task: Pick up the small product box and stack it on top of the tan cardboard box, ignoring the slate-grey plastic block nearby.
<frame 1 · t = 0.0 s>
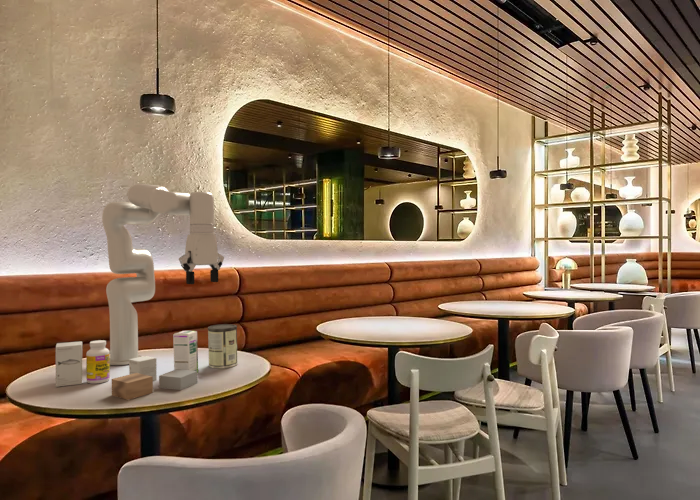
hand: (202, 283, 159), 31 cm above the table, tool pointing down, fingers open, 9 cm apart
syrup box: (186, 375, 164), on the table
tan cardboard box: (132, 394, 143), on the table
coffee can: (222, 365, 177), on the table
product box: (143, 381, 157), on the table
supplement bottle: (98, 382, 157), on the table
grey block: (178, 386, 152), on the table
supplement box: (69, 383, 156), on the table
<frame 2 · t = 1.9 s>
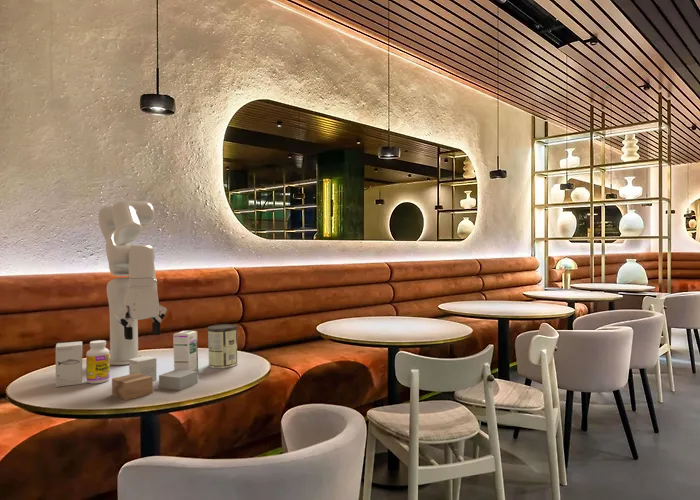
hand: (142, 336, 157), 14 cm above the table, tool pointing down, fingers open, 9 cm apart
nothing on the table moved.
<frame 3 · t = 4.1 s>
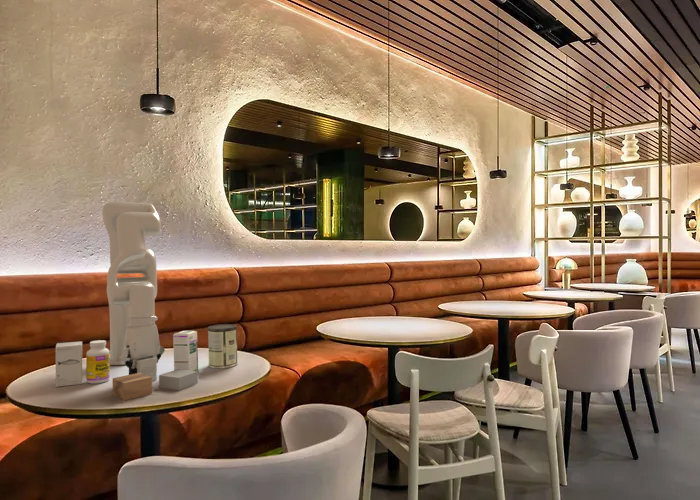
hand: (143, 377, 157), 1 cm above the table, tool pointing down, fingers closed on product box, 6 cm apart
product box: (143, 381, 157), on the table, touching gripper
everything else where it was.
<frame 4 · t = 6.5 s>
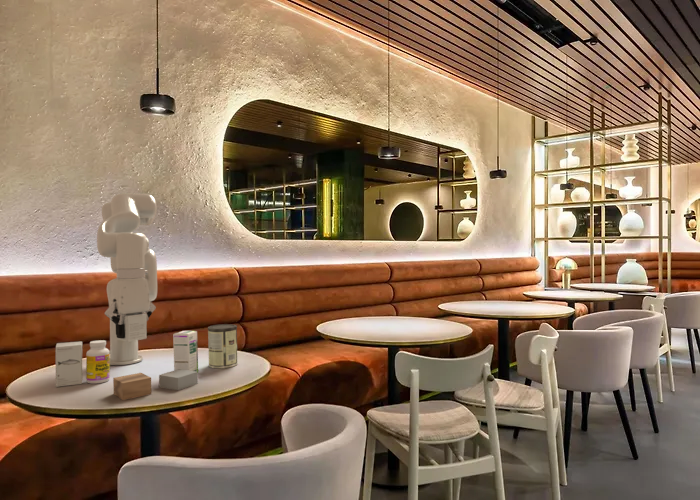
hand: (131, 335, 143), 17 cm above the table, tool pointing down, fingers closed on product box, 6 cm apart
product box: (131, 340, 143), point 16 cm above the table, touching gripper
everything else where it was.
when the fingers open (7 cm above the table, at t = 9.2 s): product box stays where it is, point 5 cm above the table.
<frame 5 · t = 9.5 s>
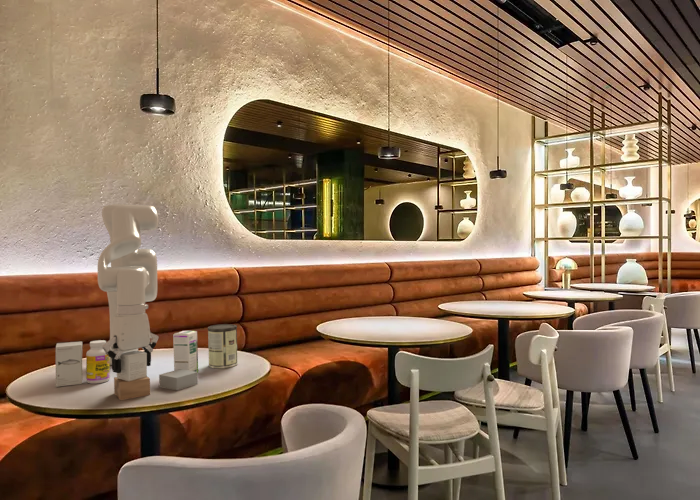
hand: (132, 368, 143), 7 cm above the table, tool pointing down, fingers open, 9 cm apart
product box: (131, 378, 143), point 5 cm above the table
everything else where it was.
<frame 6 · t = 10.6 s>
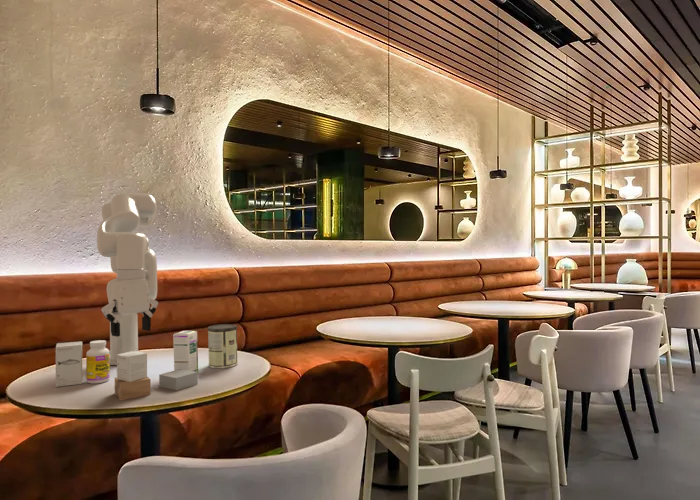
hand: (131, 333, 144), 18 cm above the table, tool pointing down, fingers open, 9 cm apart
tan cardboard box: (132, 395, 143), on the table, touching product box
product box: (132, 379, 143), point 4 cm above the table, touching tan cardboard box
everything else where it was.
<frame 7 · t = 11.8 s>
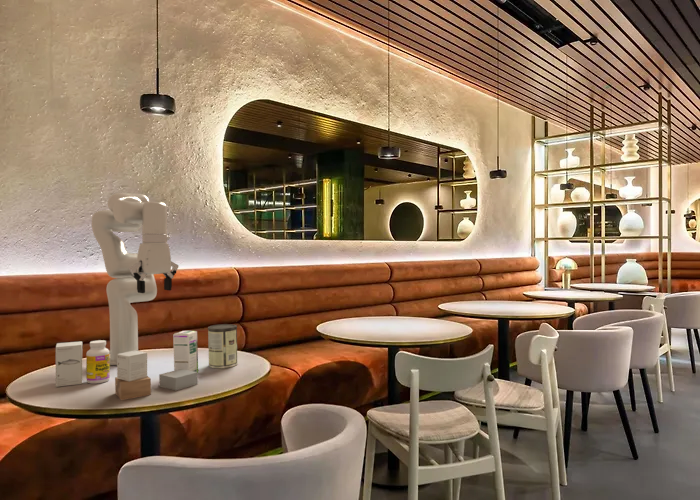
hand: (154, 291, 161), 28 cm above the table, tool pointing down, fingers open, 9 cm apart
nothing on the table moved.
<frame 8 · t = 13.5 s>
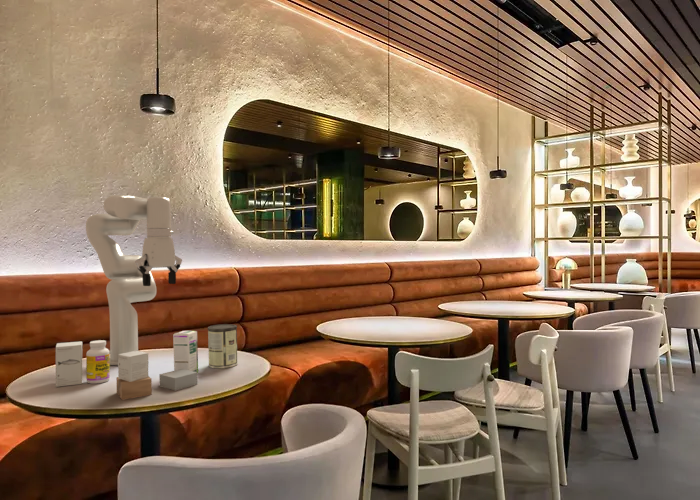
hand: (159, 284, 165), 30 cm above the table, tool pointing down, fingers open, 9 cm apart
nothing on the table moved.
at the end: product box inside the target area on the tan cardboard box (0.1 cm from its centre), point 4.8 cm above the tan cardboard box's base; product box tilted 0°; the gripper is holding nothing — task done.
